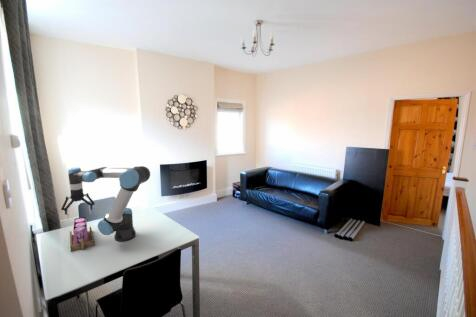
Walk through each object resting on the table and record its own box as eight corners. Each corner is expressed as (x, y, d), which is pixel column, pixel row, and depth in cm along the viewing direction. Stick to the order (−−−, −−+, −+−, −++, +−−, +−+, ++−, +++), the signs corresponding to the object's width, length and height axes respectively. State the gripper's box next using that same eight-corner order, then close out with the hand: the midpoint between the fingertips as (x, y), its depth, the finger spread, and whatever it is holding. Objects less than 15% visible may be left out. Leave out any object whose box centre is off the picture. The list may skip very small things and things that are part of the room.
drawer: (91, 231, 189) (90, 222, 187) (94, 246, 166) (93, 236, 165) (70, 236, 180) (69, 226, 179) (70, 253, 158) (69, 242, 156)
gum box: (87, 245, 166) (86, 228, 164) (74, 249, 162) (72, 231, 159) (87, 232, 186) (86, 216, 183) (75, 234, 181) (74, 218, 179)
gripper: (95, 184, 178) (98, 210, 181) (55, 190, 163) (58, 218, 166) (96, 187, 172) (99, 213, 175) (54, 193, 157) (58, 222, 160)
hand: (79, 216), depth 171 cm, fingers open, 13 cm apart
